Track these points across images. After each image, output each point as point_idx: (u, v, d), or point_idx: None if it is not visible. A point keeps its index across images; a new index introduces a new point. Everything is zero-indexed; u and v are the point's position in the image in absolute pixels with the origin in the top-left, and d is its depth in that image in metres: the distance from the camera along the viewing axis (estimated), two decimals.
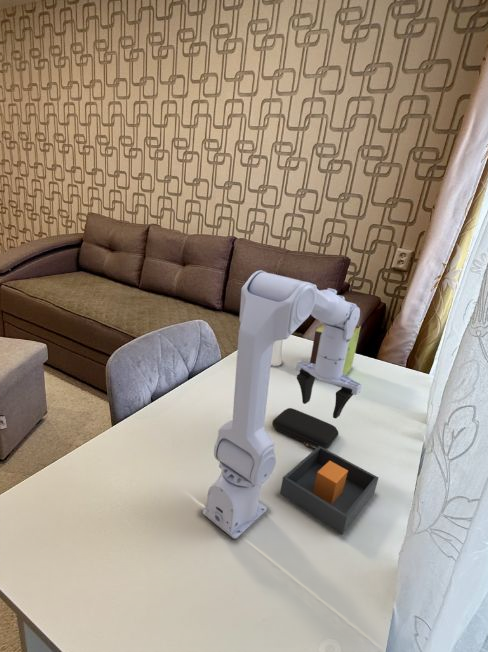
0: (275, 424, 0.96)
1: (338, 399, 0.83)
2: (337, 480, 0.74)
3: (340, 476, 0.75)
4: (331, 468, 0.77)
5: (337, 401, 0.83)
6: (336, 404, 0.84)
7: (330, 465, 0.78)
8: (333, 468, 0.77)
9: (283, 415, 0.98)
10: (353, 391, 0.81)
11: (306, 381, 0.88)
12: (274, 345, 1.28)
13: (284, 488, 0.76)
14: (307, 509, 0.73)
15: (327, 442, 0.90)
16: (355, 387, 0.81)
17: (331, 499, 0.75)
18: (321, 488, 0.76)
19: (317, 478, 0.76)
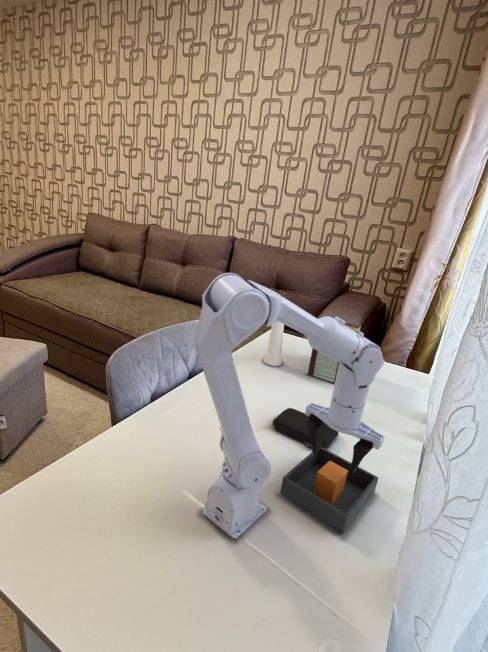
0: (275, 424, 0.96)
1: (357, 453, 0.69)
2: (337, 480, 0.74)
3: (340, 476, 0.75)
4: (331, 468, 0.77)
5: (355, 455, 0.70)
6: (354, 458, 0.71)
7: (330, 465, 0.78)
8: (333, 468, 0.77)
9: (283, 415, 0.98)
10: (374, 445, 0.68)
11: (318, 429, 0.75)
12: (274, 345, 1.28)
13: (284, 488, 0.76)
14: (307, 509, 0.73)
15: (327, 442, 0.90)
16: (377, 440, 0.68)
17: (331, 499, 0.75)
18: (321, 488, 0.76)
19: (317, 478, 0.76)
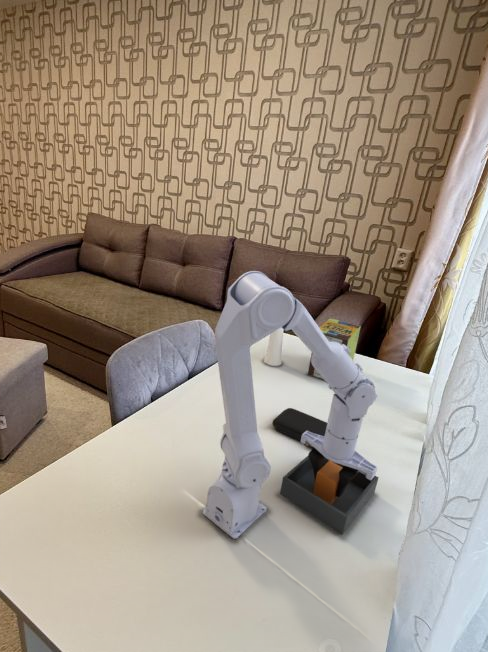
0: (275, 424, 0.96)
1: (342, 478, 0.72)
2: (337, 480, 0.74)
3: None
4: (331, 468, 0.77)
5: (341, 480, 0.73)
6: (339, 483, 0.74)
7: (330, 465, 0.78)
8: (333, 468, 0.77)
9: (283, 415, 0.98)
10: (367, 475, 0.70)
11: (320, 461, 0.75)
12: (274, 345, 1.28)
13: (284, 488, 0.76)
14: (307, 509, 0.73)
15: None
16: (370, 471, 0.69)
17: (331, 499, 0.75)
18: (321, 488, 0.76)
19: (317, 478, 0.76)
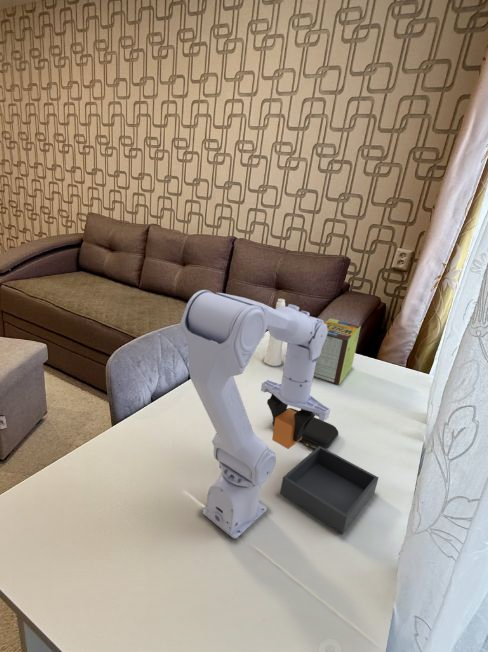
0: None
1: (297, 421, 0.75)
2: (293, 424, 0.77)
3: None
4: (289, 415, 0.80)
5: (296, 423, 0.76)
6: (295, 426, 0.76)
7: (289, 412, 0.81)
8: (291, 414, 0.80)
9: None
10: (320, 417, 0.73)
11: (278, 407, 0.78)
12: (274, 345, 1.28)
13: (284, 488, 0.76)
14: (307, 509, 0.73)
15: (327, 442, 0.90)
16: (322, 412, 0.72)
17: (288, 443, 0.78)
18: (279, 433, 0.79)
19: (275, 423, 0.79)
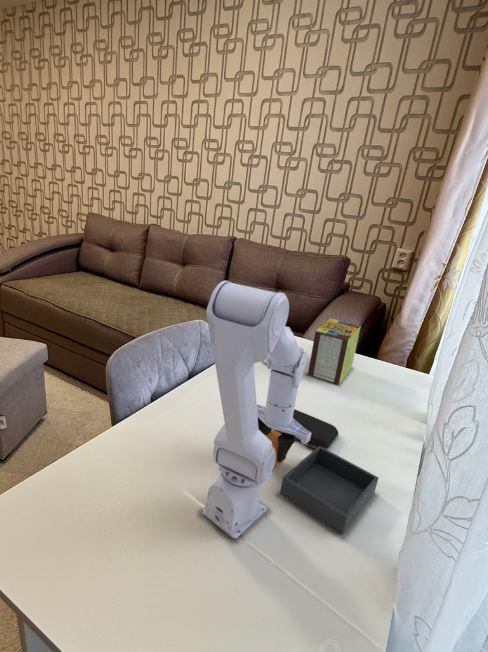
0: None
1: (280, 443, 0.79)
2: (277, 446, 0.81)
3: None
4: (274, 436, 0.84)
5: (280, 446, 0.80)
6: (279, 448, 0.80)
7: (273, 433, 0.85)
8: (276, 436, 0.84)
9: None
10: (302, 440, 0.77)
11: (263, 429, 0.82)
12: None
13: (284, 488, 0.76)
14: (307, 509, 0.73)
15: (327, 442, 0.90)
16: (304, 436, 0.76)
17: None
18: None
19: None
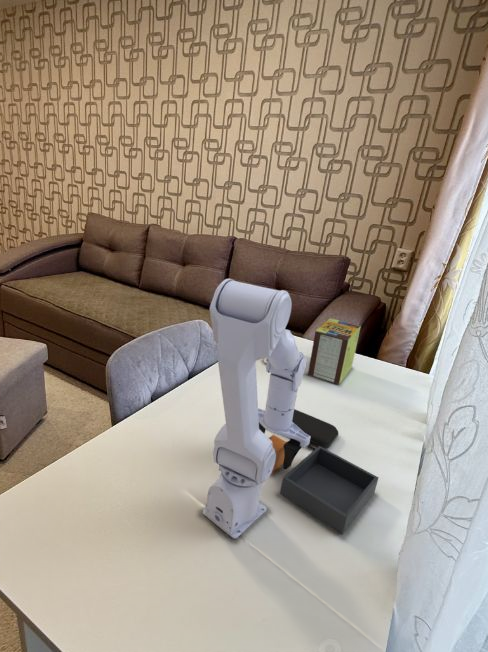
0: None
1: (286, 451, 0.79)
2: (276, 451, 0.81)
3: (280, 447, 0.82)
4: (273, 441, 0.84)
5: (286, 453, 0.79)
6: (285, 456, 0.80)
7: (273, 438, 0.85)
8: (275, 441, 0.84)
9: None
10: (301, 444, 0.77)
11: None
12: None
13: (284, 488, 0.76)
14: (307, 509, 0.73)
15: (327, 442, 0.90)
16: (303, 440, 0.77)
17: None
18: None
19: None
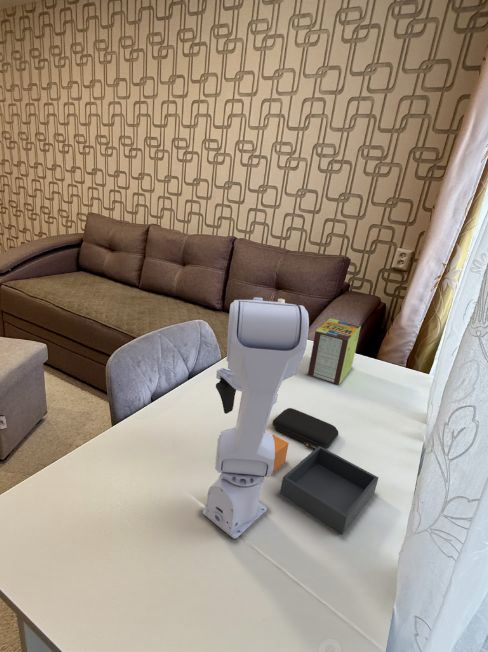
0: (275, 424, 0.96)
1: None
2: (276, 451, 0.81)
3: (280, 447, 0.82)
4: None
5: None
6: None
7: (273, 438, 0.85)
8: (275, 441, 0.84)
9: (283, 415, 0.98)
10: None
11: (225, 390, 0.83)
12: None
13: (284, 488, 0.76)
14: (307, 509, 0.73)
15: (327, 442, 0.90)
16: None
17: None
18: None
19: None
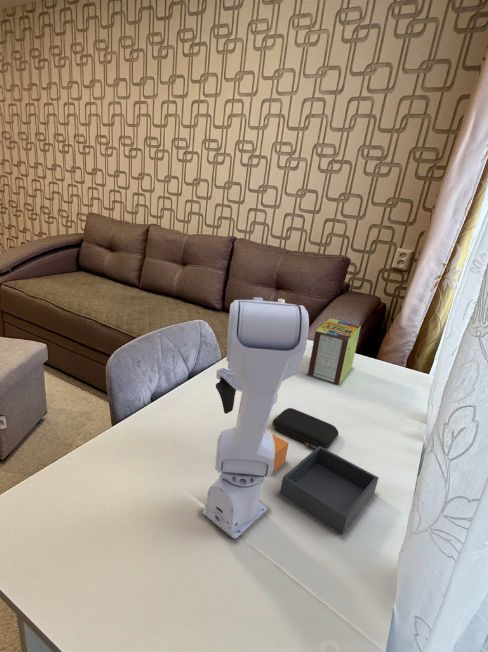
0: (275, 424, 0.96)
1: None
2: (276, 451, 0.81)
3: (280, 447, 0.82)
4: None
5: None
6: None
7: (273, 438, 0.85)
8: (275, 441, 0.84)
9: (283, 415, 0.98)
10: None
11: (225, 390, 0.83)
12: None
13: (284, 488, 0.76)
14: (307, 509, 0.73)
15: (327, 442, 0.90)
16: None
17: None
18: None
19: None
